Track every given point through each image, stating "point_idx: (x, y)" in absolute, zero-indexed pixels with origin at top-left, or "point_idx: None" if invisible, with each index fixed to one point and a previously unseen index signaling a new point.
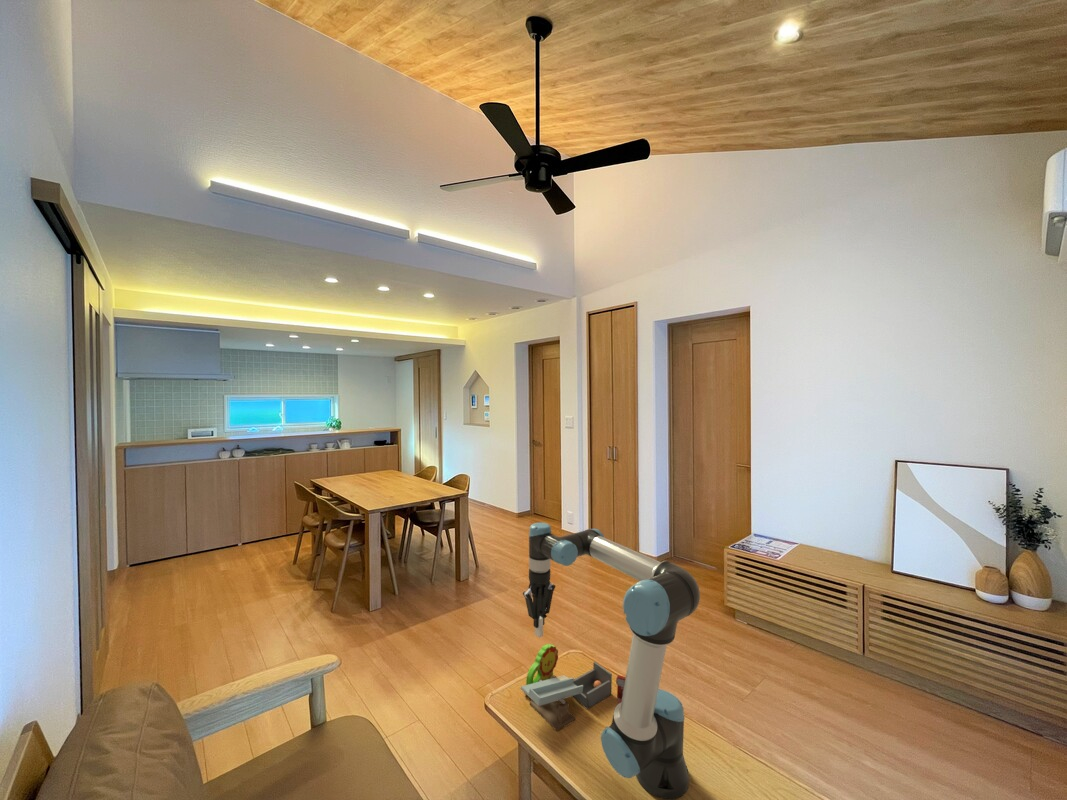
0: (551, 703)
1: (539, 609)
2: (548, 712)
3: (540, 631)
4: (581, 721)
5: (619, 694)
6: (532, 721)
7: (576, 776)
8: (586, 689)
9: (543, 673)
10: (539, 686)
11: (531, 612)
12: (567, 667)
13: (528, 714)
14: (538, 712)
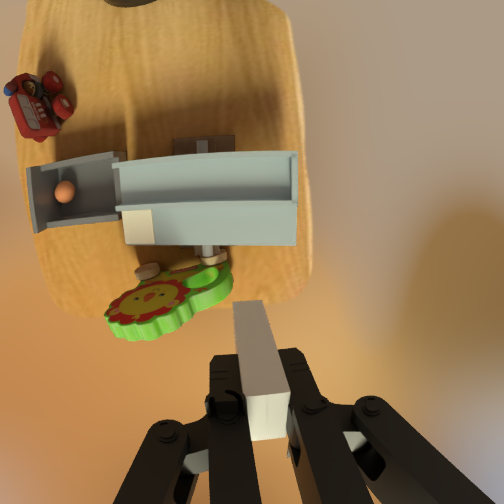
0: None
1: (320, 481)
2: None
3: (260, 322)
4: (164, 128)
5: (50, 124)
6: None
7: (275, 34)
8: (90, 205)
9: (174, 283)
10: (255, 205)
11: (425, 444)
12: (89, 295)
13: None
14: None
